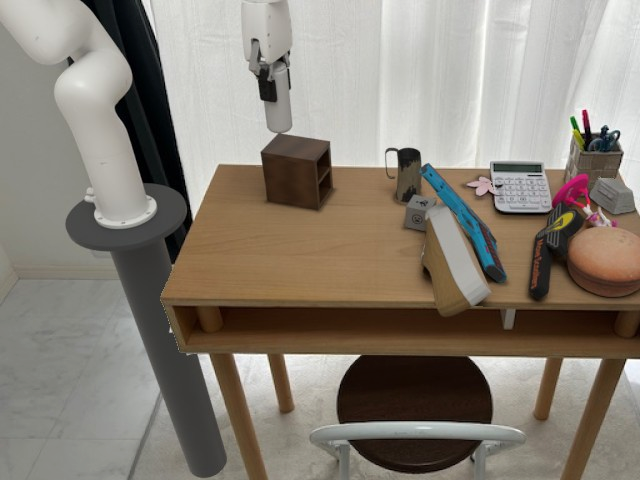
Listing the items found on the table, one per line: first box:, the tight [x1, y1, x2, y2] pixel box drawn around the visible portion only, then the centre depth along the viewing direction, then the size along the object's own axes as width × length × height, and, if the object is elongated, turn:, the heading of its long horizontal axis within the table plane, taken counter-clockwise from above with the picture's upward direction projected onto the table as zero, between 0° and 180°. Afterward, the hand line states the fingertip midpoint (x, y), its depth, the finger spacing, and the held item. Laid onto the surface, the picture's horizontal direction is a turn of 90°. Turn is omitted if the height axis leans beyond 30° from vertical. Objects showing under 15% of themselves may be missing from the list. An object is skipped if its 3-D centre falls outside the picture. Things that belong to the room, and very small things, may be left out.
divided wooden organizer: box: [259, 133, 334, 211], centre depth 134 cm, size 12×9×12 cm
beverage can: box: [262, 61, 293, 134], centre depth 114 cm, size 5×5×12 cm
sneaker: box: [420, 200, 492, 318], centre depth 115 cm, size 10×29×10 cm
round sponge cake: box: [566, 226, 640, 298], centre depth 116 cm, size 16×16×10 cm
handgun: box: [419, 162, 508, 283], centre depth 115 cm, size 23×3×15 cm
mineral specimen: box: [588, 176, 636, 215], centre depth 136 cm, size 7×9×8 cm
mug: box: [384, 147, 423, 206], centre depth 134 cm, size 8×6×12 cm
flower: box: [466, 176, 501, 197], centre depth 141 cm, size 10×10×2 cm
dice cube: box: [404, 195, 438, 232], centre depth 128 cm, size 5×5×5 cm
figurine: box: [551, 173, 618, 228], centre depth 129 cm, size 10×10×15 cm
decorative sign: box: [528, 201, 585, 300], centre depth 119 cm, size 27×2×10 cm
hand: (275, 93), depth 113 cm, fingers closed on beverage can, 4 cm apart
